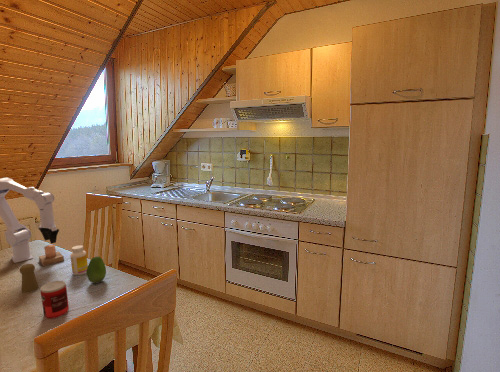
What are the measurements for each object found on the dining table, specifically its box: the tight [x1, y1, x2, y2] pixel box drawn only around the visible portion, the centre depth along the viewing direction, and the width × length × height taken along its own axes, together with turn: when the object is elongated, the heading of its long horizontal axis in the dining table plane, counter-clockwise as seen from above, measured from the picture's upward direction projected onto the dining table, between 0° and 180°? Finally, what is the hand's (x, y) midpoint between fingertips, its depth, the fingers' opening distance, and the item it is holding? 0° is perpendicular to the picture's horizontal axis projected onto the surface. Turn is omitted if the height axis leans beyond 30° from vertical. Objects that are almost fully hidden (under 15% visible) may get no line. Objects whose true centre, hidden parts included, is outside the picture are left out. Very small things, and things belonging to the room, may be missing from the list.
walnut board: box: [38, 251, 65, 267], centre depth 154 cm, size 9×9×2 cm
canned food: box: [39, 280, 70, 319], centre depth 109 cm, size 8×8×11 cm
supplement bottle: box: [70, 244, 89, 276], centre depth 140 cm, size 7×7×13 cm
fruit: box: [85, 256, 107, 284], centre depth 131 cm, size 8×8×12 cm
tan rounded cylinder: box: [43, 244, 57, 258], centre depth 154 cm, size 5×5×6 cm
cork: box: [19, 263, 40, 294], centre depth 126 cm, size 6×6×11 cm
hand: (50, 241), depth 153 cm, fingers open, 7 cm apart
